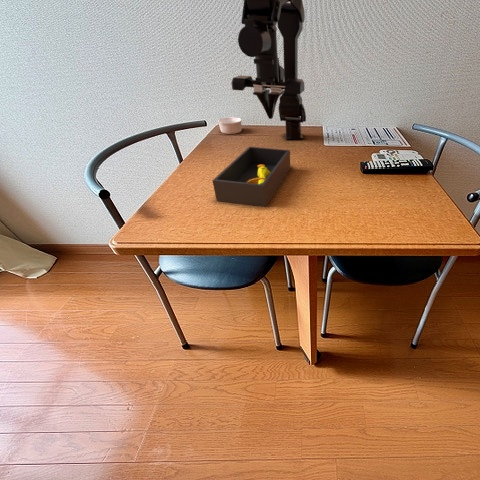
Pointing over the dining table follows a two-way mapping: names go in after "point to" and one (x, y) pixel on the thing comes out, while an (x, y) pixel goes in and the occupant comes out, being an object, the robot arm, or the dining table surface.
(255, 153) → the bin
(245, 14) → the robot arm
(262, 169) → the toy figure
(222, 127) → the ramekin
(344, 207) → the dining table surface
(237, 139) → the dining table surface
